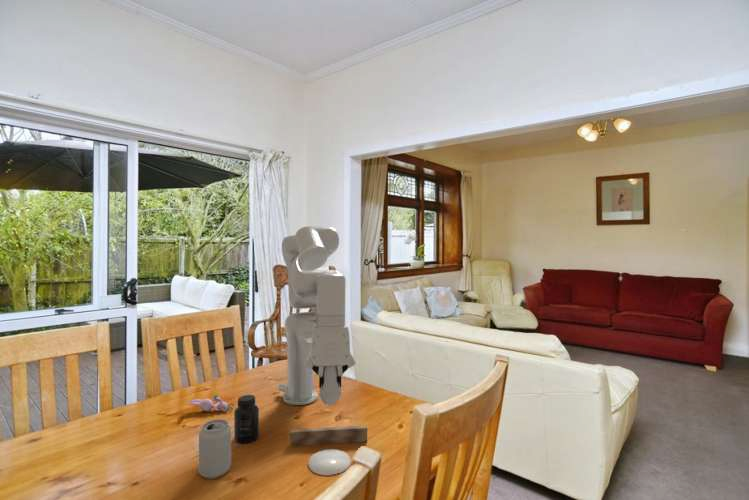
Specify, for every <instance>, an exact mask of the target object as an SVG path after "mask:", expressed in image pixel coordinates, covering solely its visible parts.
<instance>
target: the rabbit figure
mask: <svg viewBox="0 0 749 500" xmlns="http://www.w3.org/2000/svg"><path fill="white" fill-rule="evenodd" d="M219 396H220V395H219V394H214V395H213V400H212V399H210V398H205V399H200V398H196V399H193V400H190V401H189V402H188V403H187V404H186V405H187V406H191V405H192V406H196V407H199V408H200V409H201V410H202V411H204V412H210V411H212V410H213V409H214V410H215V411H218V410H220V411H221V412H224V413H227V411H228V410H229V409H230V412H232V411H233V408H235V403H233V402H230V403H228V402H227V401H223V400H222V399H221V397H219ZM214 401H215V402H217V403H215V404H214ZM231 405H232V406H231Z"/></svg>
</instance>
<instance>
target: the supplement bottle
mask: <svg viewBox="0 0 749 500" xmlns="http://www.w3.org/2000/svg"><path fill="white" fill-rule="evenodd" d="M259 412H260V410H259V407H258V405H257V404H256V397H255V395H253V394H245V395H241V396H239V397H238V399H237V407H236V408H235V410H234V412H233V413H234V416H233V418H234V419H233V422H234V426H233V427H234V431H233V432H234V441H235V442H236V443H238V444H243V445H244V444H250V443H253V442H255V441H257V439H258V438H259V435H260V427H259V426H260V423H259V422H260V420H259V419H260V416H259V415H260V413H259Z"/></svg>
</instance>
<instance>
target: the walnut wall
mask: <svg viewBox="0 0 749 500" xmlns="http://www.w3.org/2000/svg"><path fill="white" fill-rule="evenodd" d="M364 441H365V442H368V425H353V426H352V425H351V426H333V427H332V426H331V427H319V428H317V427H315V428H301V429H300V428H298V429H297V428H296V429H290V430H289V447H300V446H316V445H317V446H318V445H320V446H321V445H331V444H348V443H349V444H351V443H365V442H364Z"/></svg>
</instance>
